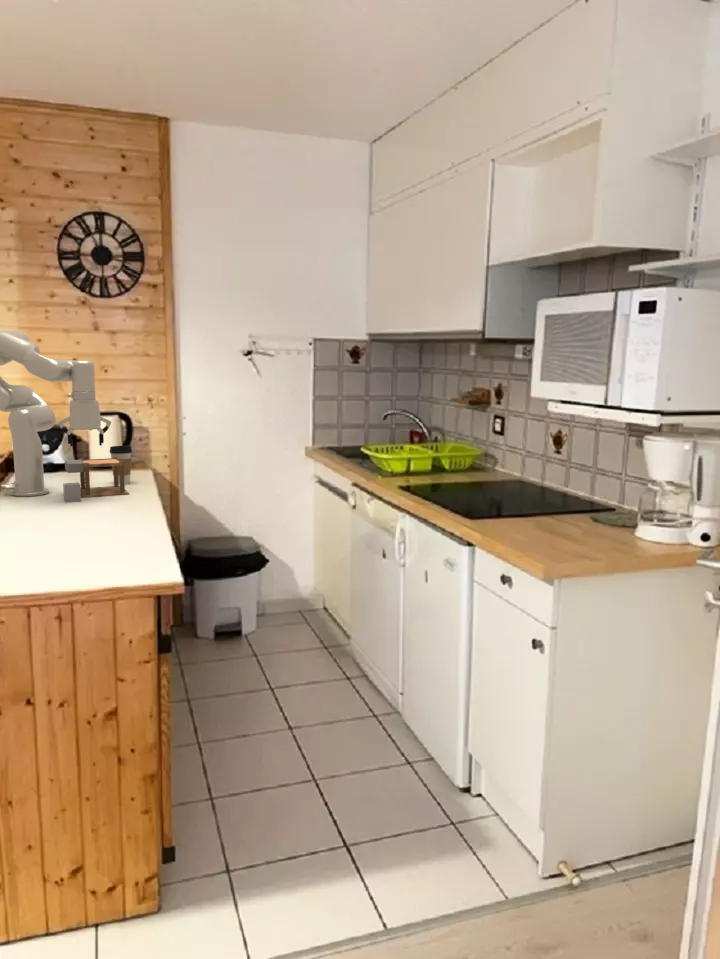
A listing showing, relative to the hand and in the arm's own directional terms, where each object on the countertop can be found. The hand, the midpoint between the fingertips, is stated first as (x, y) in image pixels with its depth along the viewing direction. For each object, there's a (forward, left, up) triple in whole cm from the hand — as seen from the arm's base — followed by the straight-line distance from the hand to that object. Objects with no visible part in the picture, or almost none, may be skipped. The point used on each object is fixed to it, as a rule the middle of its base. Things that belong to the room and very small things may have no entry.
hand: (86, 445), depth 262 cm
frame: (+5, +9, -19) cm, 21 cm away
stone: (-6, -4, -19) cm, 20 cm away
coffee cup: (+16, +26, -19) cm, 36 cm away
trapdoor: (+3, +9, -10) cm, 14 cm away
